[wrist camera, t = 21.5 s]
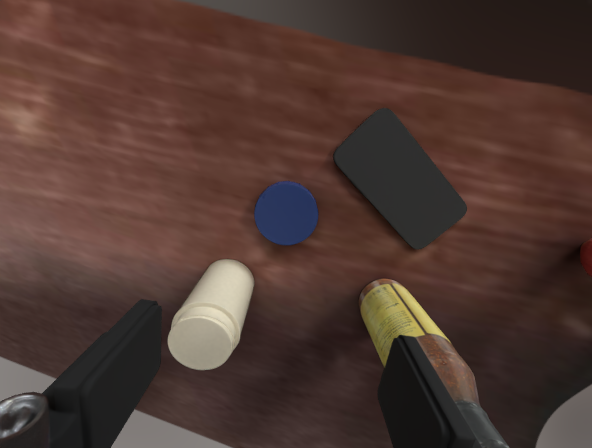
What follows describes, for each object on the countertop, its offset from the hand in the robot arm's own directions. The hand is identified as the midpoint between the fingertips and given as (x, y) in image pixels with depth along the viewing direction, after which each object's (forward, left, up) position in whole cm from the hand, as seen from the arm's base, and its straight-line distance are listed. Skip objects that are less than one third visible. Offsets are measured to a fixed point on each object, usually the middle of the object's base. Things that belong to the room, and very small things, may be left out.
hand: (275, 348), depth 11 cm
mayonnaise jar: (-3, +11, -21) cm, 24 cm away
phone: (-4, -12, -21) cm, 24 cm away
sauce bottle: (-16, -3, -21) cm, 26 cm away
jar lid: (0, 0, -19) cm, 19 cm away
